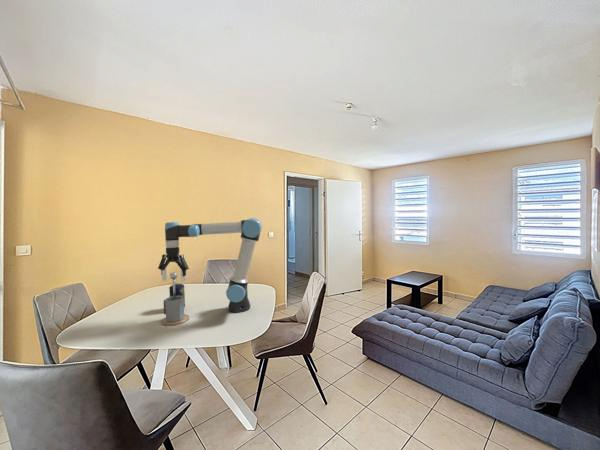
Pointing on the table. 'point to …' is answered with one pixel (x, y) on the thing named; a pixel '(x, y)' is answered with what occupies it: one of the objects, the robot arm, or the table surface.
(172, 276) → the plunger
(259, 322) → the table surface
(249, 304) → the robot arm
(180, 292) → the canister
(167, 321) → the press carafe
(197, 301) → the table surface
